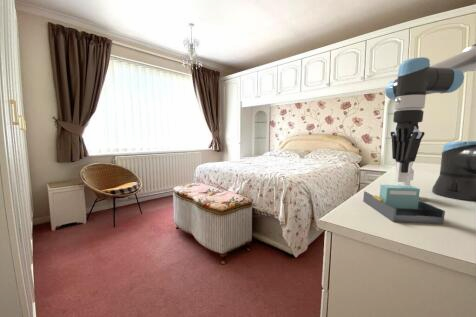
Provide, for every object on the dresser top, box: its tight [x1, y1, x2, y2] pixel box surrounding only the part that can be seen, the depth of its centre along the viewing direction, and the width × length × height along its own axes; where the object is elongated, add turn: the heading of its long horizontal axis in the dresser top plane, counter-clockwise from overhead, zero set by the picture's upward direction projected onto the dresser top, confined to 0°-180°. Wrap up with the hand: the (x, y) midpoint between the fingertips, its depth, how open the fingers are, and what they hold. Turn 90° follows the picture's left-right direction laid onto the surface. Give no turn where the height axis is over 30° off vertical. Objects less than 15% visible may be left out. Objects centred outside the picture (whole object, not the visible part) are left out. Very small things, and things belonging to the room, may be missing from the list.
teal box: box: [379, 184, 421, 209], centre depth 73 cm, size 10×4×8 cm, turn 84°
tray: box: [362, 190, 446, 225], centre depth 73 cm, size 14×19×5 cm
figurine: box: [401, 162, 415, 186], centre depth 90 cm, size 7×9×15 cm
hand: (400, 181), depth 72 cm, fingers closed
